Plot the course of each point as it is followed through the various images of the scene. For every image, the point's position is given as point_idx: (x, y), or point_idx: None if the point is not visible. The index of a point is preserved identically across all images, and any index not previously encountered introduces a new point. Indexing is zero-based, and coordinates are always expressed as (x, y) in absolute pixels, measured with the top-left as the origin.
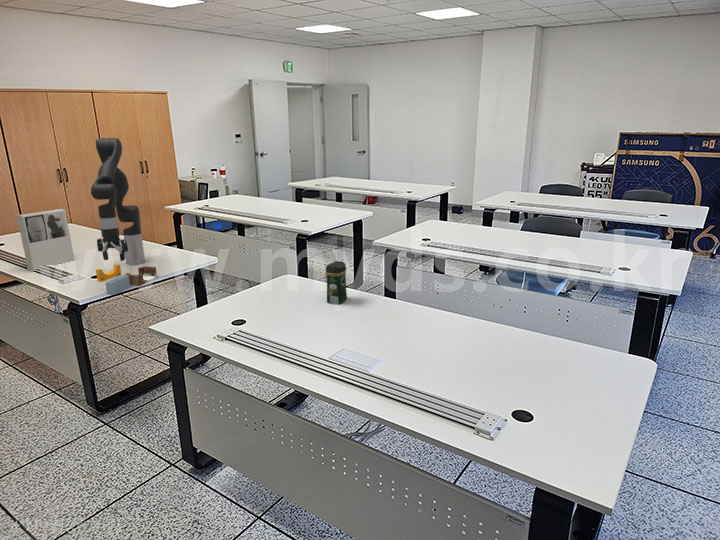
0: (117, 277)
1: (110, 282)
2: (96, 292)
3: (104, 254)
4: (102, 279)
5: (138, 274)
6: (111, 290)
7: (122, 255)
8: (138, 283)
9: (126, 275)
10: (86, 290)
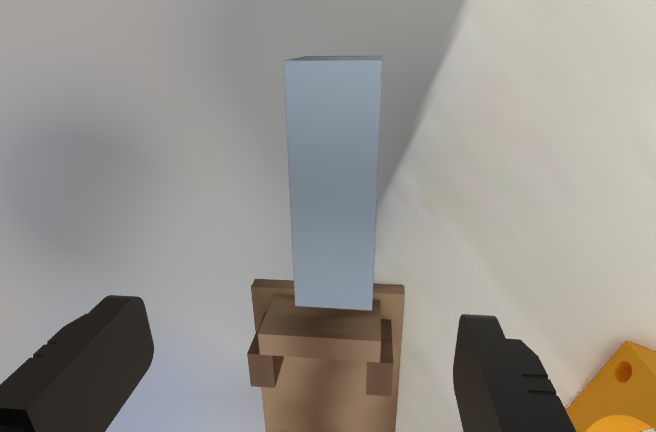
0: (364, 244)
1: (321, 69)
2: (510, 85)
3: (502, 413)
4: (627, 370)
5: (269, 366)
6: (327, 57)
7: (16, 378)
8: (266, 293)
9: (355, 339)
10: (642, 126)
